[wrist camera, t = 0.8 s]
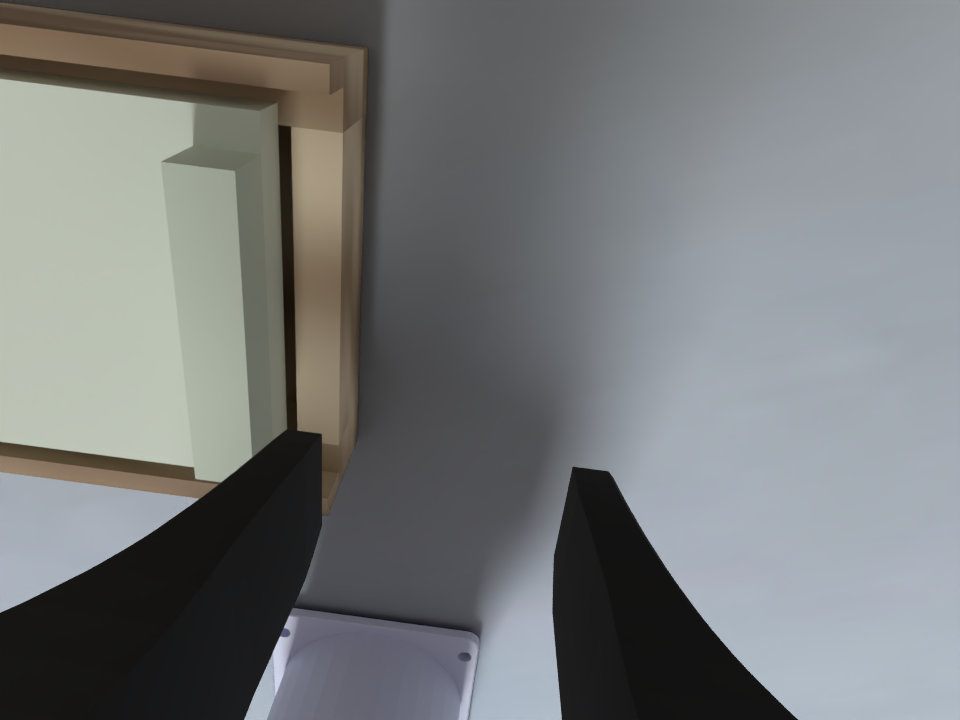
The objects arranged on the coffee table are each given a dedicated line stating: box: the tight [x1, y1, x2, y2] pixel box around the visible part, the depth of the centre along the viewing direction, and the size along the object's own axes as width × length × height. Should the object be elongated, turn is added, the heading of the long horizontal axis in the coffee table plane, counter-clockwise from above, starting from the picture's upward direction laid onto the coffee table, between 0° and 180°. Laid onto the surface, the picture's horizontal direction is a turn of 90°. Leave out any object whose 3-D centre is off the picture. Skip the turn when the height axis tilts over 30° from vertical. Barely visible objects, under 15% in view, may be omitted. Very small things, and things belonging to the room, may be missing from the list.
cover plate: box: [0, 68, 287, 482], centre depth 17 cm, size 10×11×3 cm
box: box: [0, 2, 368, 515], centre depth 19 cm, size 12×14×4 cm
